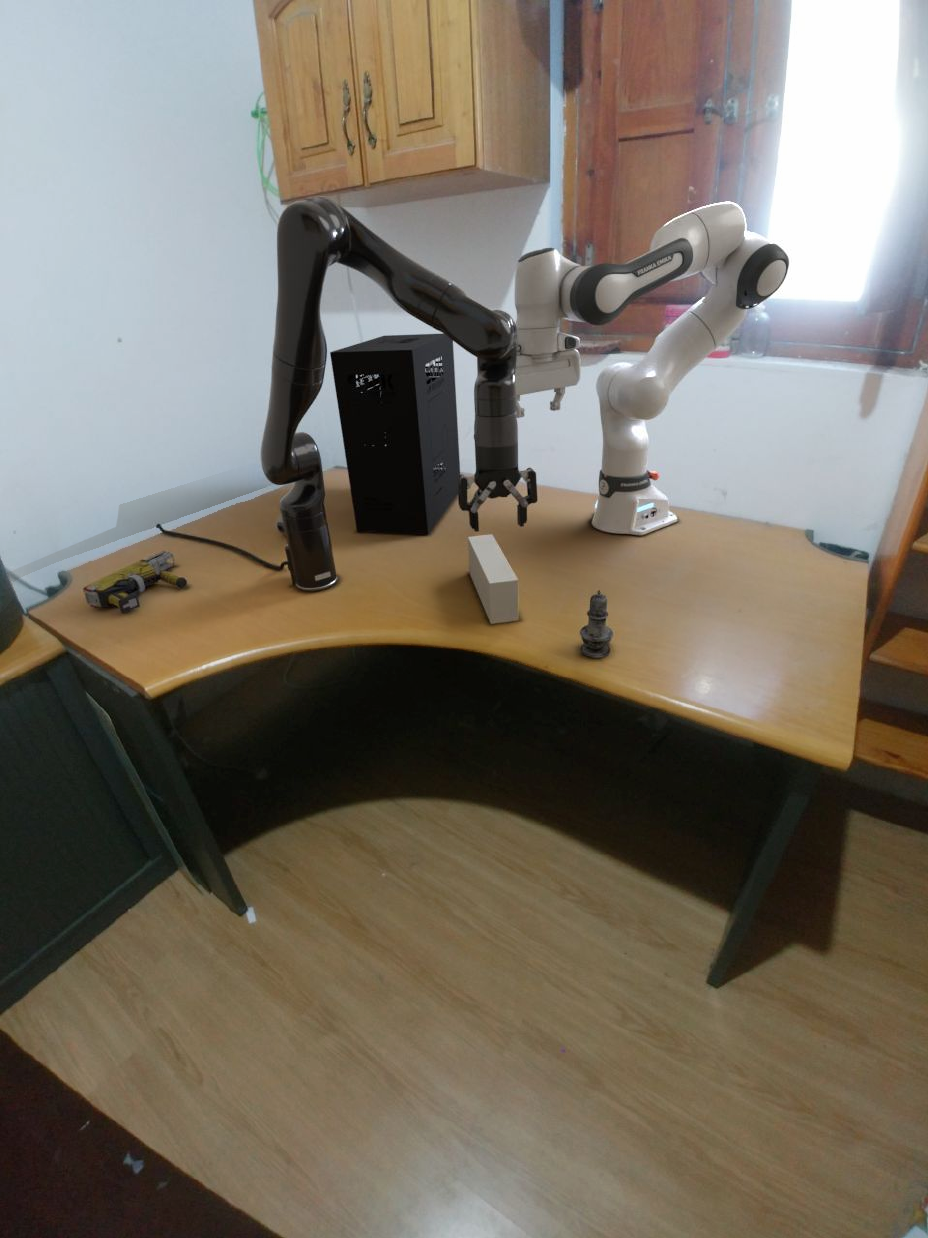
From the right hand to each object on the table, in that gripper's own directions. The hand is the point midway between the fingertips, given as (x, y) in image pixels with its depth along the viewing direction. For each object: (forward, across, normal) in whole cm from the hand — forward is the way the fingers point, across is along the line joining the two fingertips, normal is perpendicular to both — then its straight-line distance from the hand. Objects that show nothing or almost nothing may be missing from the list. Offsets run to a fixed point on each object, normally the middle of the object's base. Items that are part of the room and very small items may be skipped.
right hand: (537, 413), depth 129 cm
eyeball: (+32, -46, +52) cm, 76 cm away
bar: (+33, -20, -11) cm, 40 cm away
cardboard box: (+32, -10, +48) cm, 59 cm away
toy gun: (+32, -82, +37) cm, 96 cm away
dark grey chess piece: (+33, -16, -40) cm, 54 cm away
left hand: (+15, -23, -19) cm, 33 cm away
